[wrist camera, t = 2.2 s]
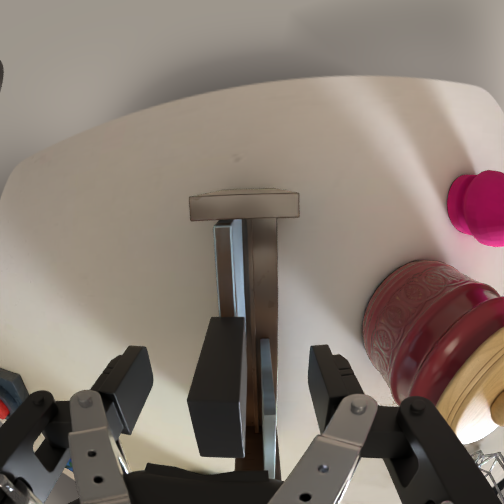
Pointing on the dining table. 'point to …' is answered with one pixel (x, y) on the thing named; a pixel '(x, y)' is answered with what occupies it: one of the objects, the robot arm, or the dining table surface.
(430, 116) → the dining table surface
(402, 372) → the kitchen canister
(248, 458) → the window frame
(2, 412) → the button
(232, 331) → the window pane
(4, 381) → the button box
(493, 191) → the pepper mill
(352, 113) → the dining table surface
